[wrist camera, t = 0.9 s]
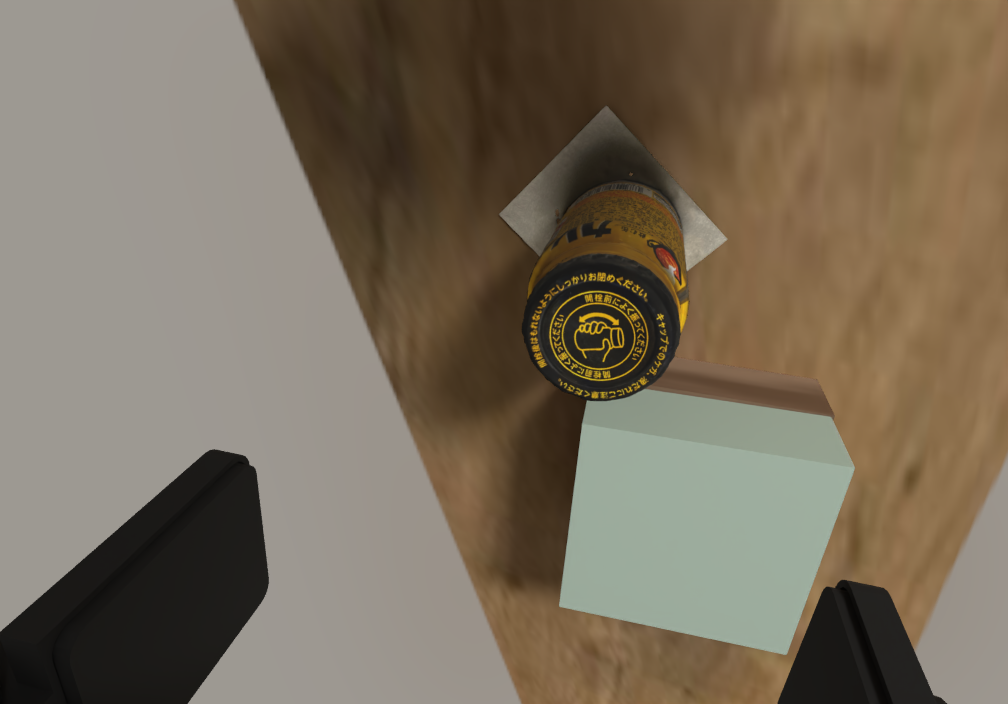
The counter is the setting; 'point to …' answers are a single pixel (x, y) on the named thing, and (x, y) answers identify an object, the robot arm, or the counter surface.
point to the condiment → (607, 263)
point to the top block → (702, 515)
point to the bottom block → (743, 386)
